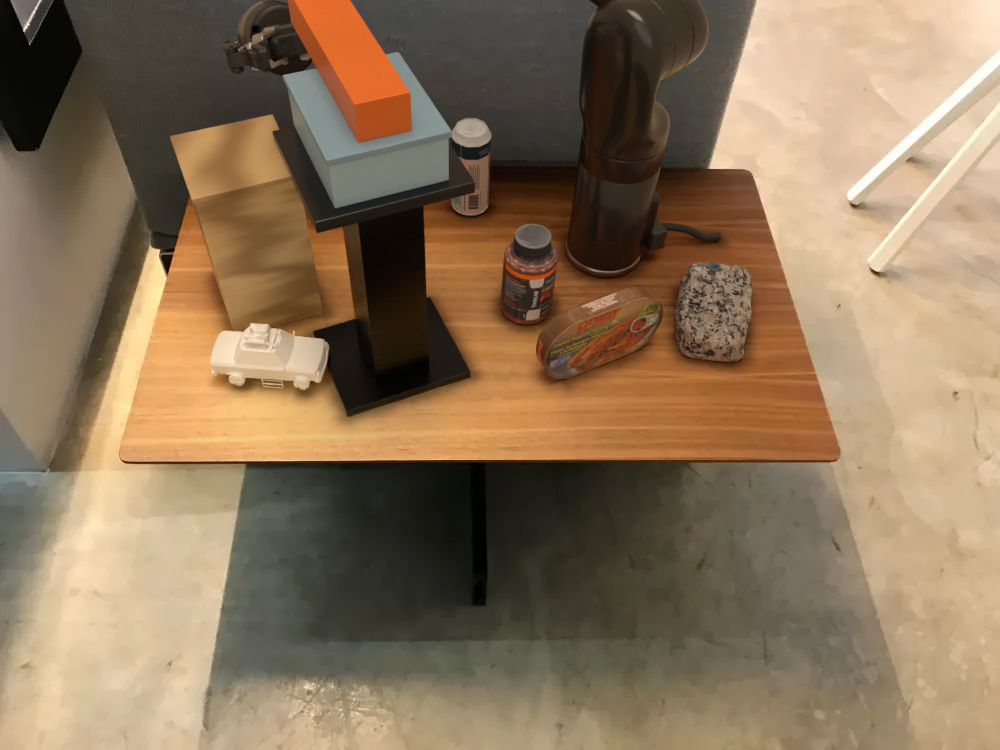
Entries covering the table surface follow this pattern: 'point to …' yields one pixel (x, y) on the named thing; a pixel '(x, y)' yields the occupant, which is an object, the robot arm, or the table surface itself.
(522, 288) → the supplement bottle
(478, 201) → the beer can
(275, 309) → the box
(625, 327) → the tin
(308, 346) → the toy car
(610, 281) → the table surface
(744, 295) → the rock
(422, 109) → the storage tub
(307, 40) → the orange rectangular bar
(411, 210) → the shelf stand
